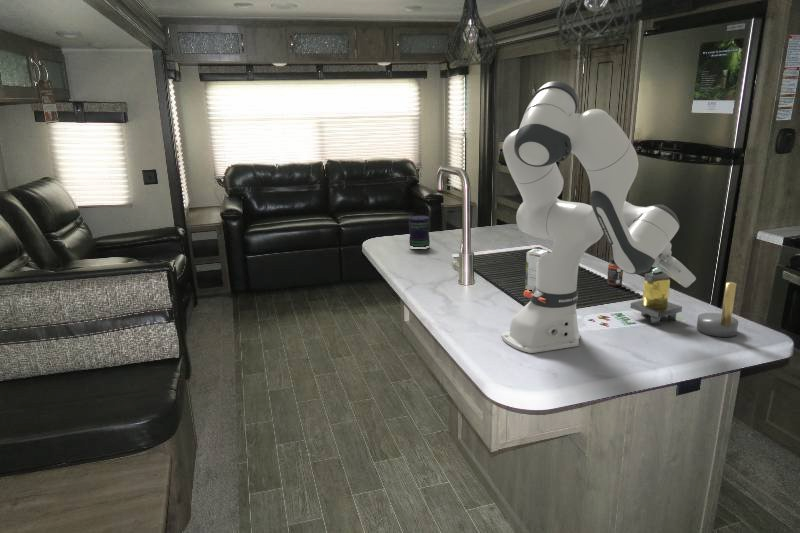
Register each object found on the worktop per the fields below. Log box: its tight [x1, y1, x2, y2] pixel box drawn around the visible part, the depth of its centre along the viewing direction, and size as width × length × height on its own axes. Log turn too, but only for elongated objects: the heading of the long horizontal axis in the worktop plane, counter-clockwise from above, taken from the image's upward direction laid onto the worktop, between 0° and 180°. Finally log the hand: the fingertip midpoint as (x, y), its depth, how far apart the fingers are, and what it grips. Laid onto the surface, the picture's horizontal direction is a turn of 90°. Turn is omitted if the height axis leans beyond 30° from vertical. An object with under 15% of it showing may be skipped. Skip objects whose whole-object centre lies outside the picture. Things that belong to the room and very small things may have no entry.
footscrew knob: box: [696, 281, 739, 338], centre depth 153 cm, size 10×10×15 cm
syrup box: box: [524, 248, 549, 292], centre depth 194 cm, size 6×6×14 cm
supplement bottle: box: [606, 257, 624, 287], centre depth 197 cm, size 5×5×10 cm
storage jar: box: [408, 215, 431, 247], centre depth 260 cm, size 10×10×15 cm
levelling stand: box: [630, 267, 683, 327], centre depth 163 cm, size 10×10×16 cm
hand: (686, 284), depth 147 cm, fingers closed
